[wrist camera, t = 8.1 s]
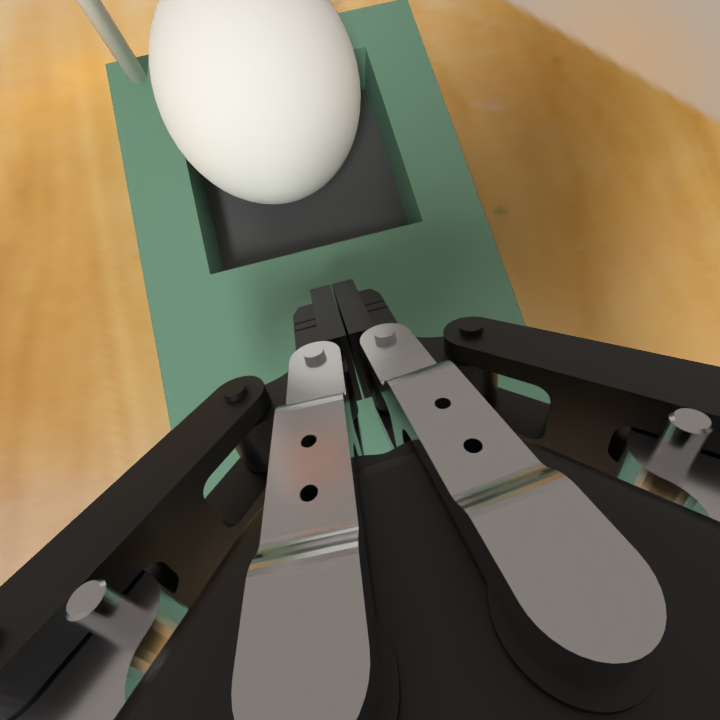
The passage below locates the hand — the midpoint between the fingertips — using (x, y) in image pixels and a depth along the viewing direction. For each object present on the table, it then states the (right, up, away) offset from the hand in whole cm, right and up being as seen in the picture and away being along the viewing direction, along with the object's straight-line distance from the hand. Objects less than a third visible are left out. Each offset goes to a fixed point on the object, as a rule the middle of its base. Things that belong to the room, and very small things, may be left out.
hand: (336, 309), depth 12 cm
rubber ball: (-3, +9, +2) cm, 10 cm away
